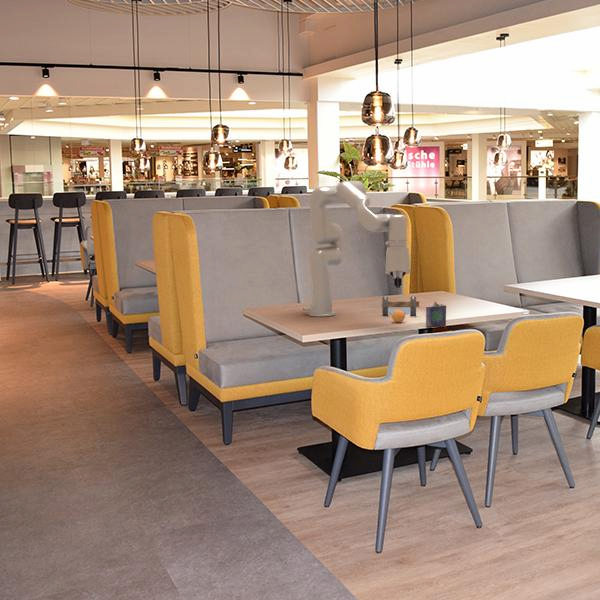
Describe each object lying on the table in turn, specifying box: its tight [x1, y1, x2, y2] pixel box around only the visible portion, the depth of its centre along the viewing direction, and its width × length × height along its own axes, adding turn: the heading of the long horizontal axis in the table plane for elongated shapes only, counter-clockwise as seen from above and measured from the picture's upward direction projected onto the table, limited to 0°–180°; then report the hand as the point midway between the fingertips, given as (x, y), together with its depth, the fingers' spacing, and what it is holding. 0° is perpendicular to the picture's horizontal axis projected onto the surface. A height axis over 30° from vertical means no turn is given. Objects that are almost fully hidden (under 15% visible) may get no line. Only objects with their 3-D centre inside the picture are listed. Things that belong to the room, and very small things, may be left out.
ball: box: [391, 310, 406, 323], centre depth 347 cm, size 6×6×6 cm
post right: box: [409, 296, 417, 317], centre depth 362 cm, size 3×3×9 cm
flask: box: [425, 300, 447, 328], centre depth 336 cm, size 9×3×11 cm, turn 109°
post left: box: [381, 295, 389, 317], centre depth 364 cm, size 3×3×9 cm
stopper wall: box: [388, 300, 420, 308], centre depth 390 cm, size 18×2×2 cm, turn 82°
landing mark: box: [388, 307, 410, 313], centre depth 377 cm, size 14×14×1 cm
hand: (398, 287), depth 336 cm, fingers closed
